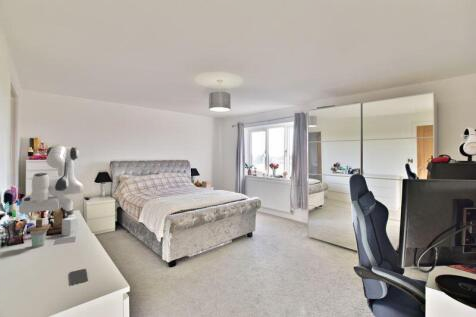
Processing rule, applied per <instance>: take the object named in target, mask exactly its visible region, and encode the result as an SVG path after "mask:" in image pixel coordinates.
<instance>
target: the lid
mask: <svg viewBox="0 0 476 317" xmlns="http://www.w3.org/2000/svg"><path fill="white" fill-rule="evenodd" d="M50 226H51V224H49V223H48V224H43V218H38V219H36V220H35V225H30V226H28V227H27V229H25V233H27V232H29V233H30V231H39V230H47V229H49V228H51V227H50Z"/></svg>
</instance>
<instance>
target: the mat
mask: <svg viewBox="0 0 476 317" xmlns="http://www.w3.org/2000/svg"><path fill="white" fill-rule="evenodd" d="M75 242H76V236H75V235H74V236H67V237H62V238H56V239H54V242H53V246H56V245H63V244H70V243H75Z"/></svg>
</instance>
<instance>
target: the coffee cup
mask: <svg viewBox="0 0 476 317" xmlns="http://www.w3.org/2000/svg"><path fill="white" fill-rule="evenodd" d="M46 231H47V230H39V231H30V232H29V233H30V239H31V246H32V248H33V249H36V248H40V247H44V246H45V241H46V238H47V237H46V235H47V234H46Z"/></svg>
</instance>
